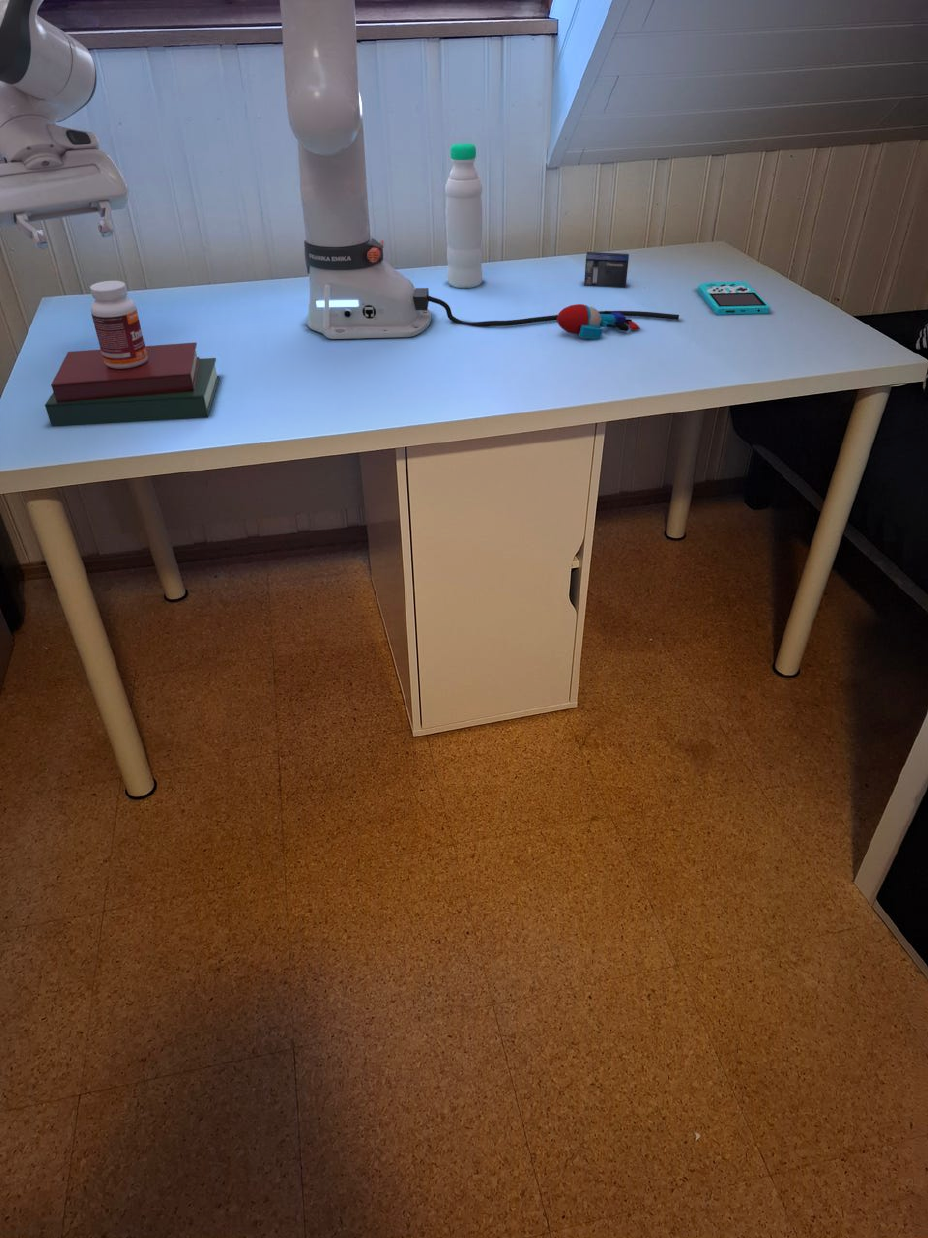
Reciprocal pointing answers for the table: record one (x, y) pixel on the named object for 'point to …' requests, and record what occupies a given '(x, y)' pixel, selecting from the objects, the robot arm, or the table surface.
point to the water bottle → (464, 219)
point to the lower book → (140, 404)
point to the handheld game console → (732, 298)
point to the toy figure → (591, 321)
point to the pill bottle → (117, 326)
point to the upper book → (127, 374)
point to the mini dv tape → (606, 269)
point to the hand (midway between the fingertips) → (75, 239)
